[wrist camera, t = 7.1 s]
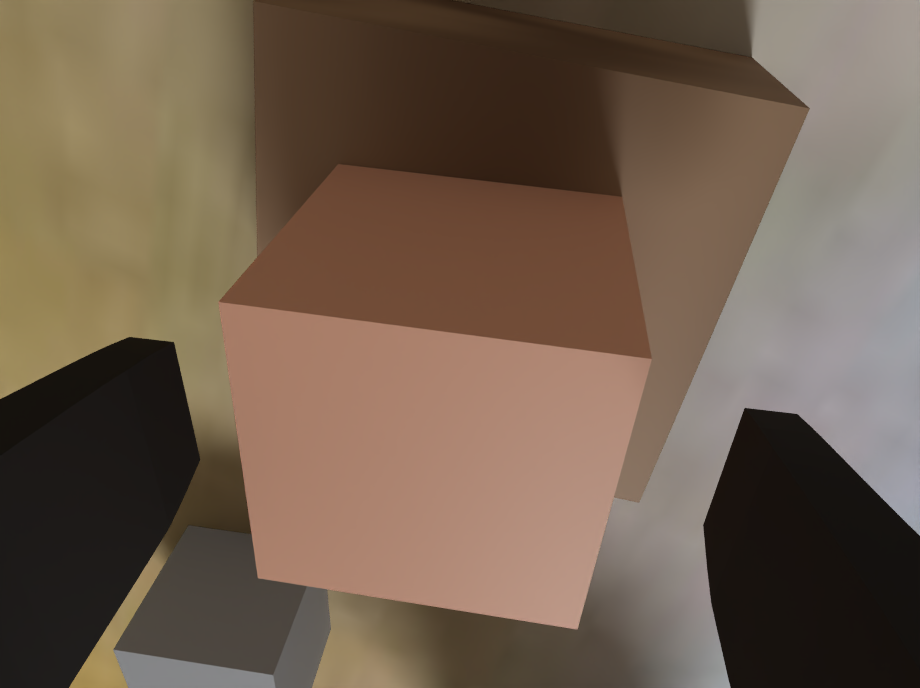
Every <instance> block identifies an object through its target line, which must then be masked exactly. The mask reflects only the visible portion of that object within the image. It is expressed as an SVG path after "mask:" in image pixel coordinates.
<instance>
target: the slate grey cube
mask: <svg viewBox="0 0 920 688" xmlns="http://www.w3.org/2000/svg"><path fill="white" fill-rule="evenodd" d="M330 630H331V625H330V615H329V604H328V594H327V589H322V588H316V587H309V586H303V585H297V584H291V583H285V582H278V581H272V580H266V579H260V578H258V575H257V568H256V561H255V554H254V547H253V540H252V534H246V533H239V532H232V531H225V530H218V529H211V528H204V527H197V526H190V525H188V527H187V528H186V530H185V532H184V533H183V535H182V537H181V538H180V540H179V542H178V543H177V545H176V547H175V548H174V550H173V552H172V553H171V555H170V556H169V558H168V560H167V561H166V563H165V565H164V566H163V568H162V570H161V571H160V573H159V575H158V576H157V578H156V580H155V581H154V583H153V585H152V586H151V588H150V590H149V591H148V593H147V595H146V596H145V598H144V600H143V601H142V603H141V605H140V606H139V608H138V610H137V611H136V613H135V615H134V616H133V618H132V619H131V621H130V623H129V624H128V626H127V628H126V629H125V631H124V633H123V634H122V636H121V638H120V639H119V641H118V643H117V644H116V646H115V648H114V649H113V650H114V653H115V655H116V658H117V660H118V663H119V665H120V668H121V670H122V673H123V675H124V678H125V680H126V683H127V685H128V688H312V685H313V682H314V679H315V676H316V673H317V670H318V667H319V664H320V661H321V657H322V654H323V651H324V648H325V645H326V642H327V639H328V636H329V633H330Z"/></svg>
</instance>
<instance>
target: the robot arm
mask: <svg viewBox="0 0 920 688" xmlns="http://www.w3.org/2000/svg"><path fill="white" fill-rule="evenodd" d="M199 461H200V456H199V452H198V447H197V443H196V438H195V434H194V429H193V425H192V421H191V416H190V412H189V407H188V403H187V398H186V394H185V389H184V385H183V380H182V376H181V372H180V367H179V363H178V358H177V354H176V349H175V345H174V342H168V341H159V340H151V339H142V338H133V337H128V338H126V339H124V340H121V341H119V342H116V343H114V344H111V345H109V346H107V347H105V348H102V349H100V350H98V351H96V352H94V353H92V354H90V355H88V356H86V357H83V358H81V359H79V360H77V361H75V362H73V363H71V364H69V365H67V366H65V367H63V368H61V369H59V370H57V371H55V372H53V373H51V374H49V375H47V376H45V377H43V378H41V379H39V380H37V381H36V382H34V383H32V384H30V385H28V386H26V387H24V388H22V389H20V390H18V391H16V392H14V393H12V394H10V395H8V396H6V397H4V398H2V399H0V688H69V686H70V685H71V683H72V682H73V680H74V678H75V677H76V675H77V674H78V672H79V671H80V669H81V667H82V666H83V664H84V663H85V661H86V659H87V658H88V656H89V655H90V653H91V652H92V650H93V648H94V647H95V645H96V644H97V642H98V641H99V639H100V637H101V636H102V634H103V633H104V631H105V630H106V628H107V626H108V625H109V623H110V622H111V620H112V618H113V617H114V615H115V614H116V612H117V611H118V609H119V607H120V606H121V604H122V603H123V601H124V600H125V598H126V596H127V595H128V593H129V592H130V590H131V589H132V587H133V585H134V584H135V582H136V581H137V579H138V577H139V576H140V574H141V573H142V571H143V569H144V568H145V566H146V565H147V563H148V561H149V560H150V558H151V557H152V555H153V553H154V552H155V550H156V548H157V547H158V545H159V544H160V542H161V540H162V539H163V537H164V535H165V534H166V532H167V530H168V529H169V527H170V525H171V523H172V521H173V519H174V517H175V515H176V512H177V510H178V508H179V506H180V504H181V502H182V500H183V498H184V496H185V493H186V491H187V489H188V486H189V484H190V482H191V480H192V477H193V475H194V473H195V470H196V468H197V466H198V463H199ZM703 526H704V537H705V548H706V559H707V570H708V578H709V587H710V596H711V603H712V608H713V612H714V617H715V622H716V626H717V630H718V635H719V639H720V643H721V648H722V652H723V657H724V661H725V665H726V670H727V674H728V678H729V682H730V686H731V688H920V536H919V535H918V534H917V533H916V532H915V531H914V530H913V529H912V528H911V527H910V526H909V525H908V524H907V523H906V522H905V521H904V520H903V519H902V518H901V517H900V516H899V515H898V514H897V513H896V512H895V511H894V510H893V509H892V508H891V507H890V506H889V505H888V504H887V503H886V502H885V501H884V500H883V499H882V498H881V497H880V496H879V495H878V494H877V493H876V492H875V491H874V490H873V489H872V488H871V487H870V486H869V485H868V484H867V483H866V482H865V481H864V480H863V479H862V478H861V477H860V476H859V475H858V474H857V473H856V472H855V471H854V470H853V469H852V468H851V467H850V466H849V465H848V463H847V462H846V461H845V460H844V459H843V458H842V457H841V456H840V455H839V454H838V453H837V452H836V451H835V450H834V449H833V448H832V447H831V446H830V445H829V444H828V443H827V442H826V441H825V440H824V439H823V438H822V437H821V436H820V435H819V434H818V433H817V432H816V431H815V430H814V429H813V428H812V427H811V426H810V425H808V424H807V423H806V422H805V421H804V420H803V419H802V418H801V417H800V416H799V415H798V414H792V413H783V412H775V411H766V410H757V409H749V408H745V409H744V412H743V414H742V417H741V420H740V423H739V426H738V429H737V431H736V434H735V437H734V440H733V443H732V445H731V448H730V451H729V454H728V457H727V460H726V462H725V465H724V468H723V471H722V474H721V477H720V479H719V482H718V485H717V488H716V491H715V494H714V496H713V499H712V502H711V505H710V508H709V511H708V513H707V516H706V519H705V522H704V525H703Z"/></svg>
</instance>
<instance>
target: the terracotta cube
mask: <svg viewBox="0 0 920 688" xmlns="http://www.w3.org/2000/svg"><path fill="white" fill-rule="evenodd" d="M219 309H220V316H221V323H222V330H223V337H224V344H225V351H226V358H227V365H228V372H229V379H230V386H231V393H232V400H233V407H234V414H235V421H236V428H237V435H238V442H239V449H240V456H241V463H242V470H243V477H244V484H245V491H246V498H247V505H248V512H249V519H250V526H251V533H252V540H253V547H254V554H255V561H256V568H257V575H258V578H260V579H266V580H272V581H278V582H285V583H291V584H297V585H303V586H309V587H316V588H322V589H328V590H334V591H341V592H347V593H353V594H359V595H365V596H372V597H378V598H384V599H390V600H397V601H403V602H409V603H415V604H421V605H428V606H434V607H440V608H446V609H453V610H459V611H465V612H471V613H477V614H484V615H490V616H496V617H502V618H509V619H515V620H521V621H527V622H534V623H540V624H546V625H552V626H558V627H565V628H571V629H578V626H579V622H580V618H581V615H582V611H583V608H584V604H585V600H586V597H587V593H588V589H589V586H590V582H591V578H592V575H593V571H594V568H595V564H596V560H597V557H598V553H599V549H600V546H601V542H602V539H603V535H604V531H605V528H606V524H607V520H608V517H609V513H610V510H611V506H612V502H613V499H614V495H615V491H616V488H617V484H618V481H619V477H620V473H621V470H622V466H623V462H624V459H625V455H626V451H627V448H628V444H629V441H630V437H631V433H632V430H633V426H634V422H635V419H636V415H637V412H638V408H639V404H640V401H641V397H642V393H643V390H644V386H645V383H646V379H647V375H648V372H649V368H650V364H651V361H652V357H651V351H650V346H649V340H648V335H647V329H646V324H645V318H644V313H643V307H642V302H641V297H640V291H639V286H638V280H637V275H636V269H635V264H634V258H633V253H632V247H631V242H630V237H629V231H628V226H627V220H626V215H625V209H624V204H623V198H622V197H620V196H611V195H602V194H594V193H585V192H576V191H568V190H559V189H550V188H542V187H533V186H524V185H516V184H507V183H498V182H490V181H481V180H472V179H464V178H455V177H446V176H438V175H429V174H420V173H412V172H403V171H395V170H386V169H377V168H369V167H360V166H351V165H343V164H338V165H337V166H336V167H335V168H334V170H333V171H332V172H331V173H330V174H329V175H328V177H327V178H326V179H325V180H324V181H323V182H322V183H321V185H320V186H319V187H318V188H317V189H316V190H315V191H314V193H313V194H312V195H311V196H310V197H309V198H308V200H307V201H306V202H305V203H304V204H303V205H302V206H301V208H300V209H299V210H298V211H297V212H296V213H295V214H294V216H293V217H292V218H291V219H290V220H289V221H288V223H287V224H286V225H285V226H284V227H283V228H282V229H281V231H280V232H279V233H278V234H277V235H276V236H275V238H274V239H273V240H272V241H271V242H270V243H269V244H268V246H267V247H266V248H265V249H264V250H263V251H262V252H261V254H260V255H259V256H258V257H257V258H256V259H255V261H254V262H253V263H252V264H251V265H250V266H249V267H248V269H247V270H246V271H245V272H244V273H243V274H242V275H241V277H240V278H239V279H238V280H237V281H236V282H235V284H234V285H233V286H232V287H231V288H230V289H229V290H228V292H227V293H226V294H225V295H224V296H223V297H222V298H221V300H220V301H219Z"/></svg>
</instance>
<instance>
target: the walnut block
mask: <svg viewBox="0 0 920 688" xmlns="http://www.w3.org/2000/svg"><path fill="white" fill-rule="evenodd" d="M253 16H254V81H255V146H256V211H257V257H258V256H259V255H260V254H261V252H262V251H263V250H264V249H265V248H266V247H267V246H268V244H269V243H270V242H271V241H272V240H273V239H274V238H275V236H276V235H277V234H278V233H279V232H280V231H281V229H282V228H283V227H284V226H285V225H286V224H287V223H288V221H289V220H290V219H291V218H292V217H293V216H294V214H295V213H296V212H297V211H298V210H299V209H300V208H301V206H302V205H303V204H304V203H305V202H306V201H307V200H308V198H309V197H310V196H311V195H312V194H313V193H314V191H315V190H316V189H317V188H318V187H319V186H320V185H321V183H322V182H323V181H324V180H325V179H326V178H327V177H328V175H329V174H330V173H331V172H332V171H333V170H334V168H335V167H336V166H337V165H338V164H343V165H351V166H360V167H369V168H377V169H386V170H395V171H403V172H412V173H420V174H429V175H438V176H446V177H455V178H464V179H472V180H481V181H490V182H498V183H507V184H516V185H524V186H533V187H542V188H550V189H559V190H568V191H576V192H585V193H594V194H602V195H611V196H620V197H622V198H623V204H624V209H625V215H626V220H627V226H628V231H629V237H630V242H631V247H632V253H633V258H634V264H635V269H636V275H637V280H638V286H639V291H640V297H641V302H642V307H643V313H644V318H645V324H646V329H647V335H648V340H649V346H650V351H651V357H652V361H651V364H650V368H649V372H648V375H647V379H646V383H645V386H644V390H643V393H642V397H641V401H640V404H639V408H638V412H637V415H636V419H635V422H634V426H633V430H632V433H631V437H630V441H629V444H628V448H627V451H626V455H625V459H624V462H623V466H622V470H621V473H620V477H619V481H618V484H617V488H616V491H615V495H614V497H615V498H620V499H624V500H629V501H634V502H640V499H641V497H642V495H643V492H644V490H645V488H646V486H647V483H648V481H649V479H650V476H651V474H652V472H653V469H654V467H655V465H656V462H657V460H658V458H659V455H660V453H661V451H662V449H663V446H664V444H665V442H666V439H667V437H668V435H669V432H670V430H671V428H672V425H673V423H674V421H675V418H676V416H677V414H678V412H679V409H680V407H681V405H682V402H683V400H684V398H685V395H686V393H687V391H688V388H689V386H690V384H691V382H692V379H693V377H694V375H695V372H696V370H697V368H698V365H699V363H700V361H701V358H702V356H703V354H704V351H705V349H706V347H707V345H708V342H709V340H710V338H711V335H712V333H713V331H714V328H715V326H716V324H717V321H718V319H719V317H720V314H721V312H722V310H723V308H724V305H725V303H726V301H727V298H728V296H729V294H730V291H731V289H732V287H733V284H734V282H735V280H736V277H737V275H738V273H739V271H740V268H741V266H742V264H743V261H744V259H745V257H746V254H747V252H748V250H749V247H750V245H751V243H752V241H753V238H754V236H755V234H756V231H757V229H758V227H759V224H760V222H761V220H762V217H763V215H764V213H765V210H766V208H767V206H768V204H769V201H770V199H771V197H772V194H773V192H774V190H775V187H776V185H777V183H778V180H779V178H780V176H781V173H782V171H783V169H784V167H785V164H786V162H787V160H788V157H789V155H790V153H791V150H792V148H793V146H794V143H795V141H796V139H797V137H798V134H799V132H800V130H801V127H802V125H803V123H804V120H805V118H806V116H807V113H808V111H809V109H810V108H809V107H807V106H806V105H805V104H804V103H803V102H802V101H801V100H800V99H798V98H797V97H796V96H795V95H794V94H793V93H792V92H790V91H789V90H788V89H787V88H786V87H785V86H784V85H783V84H781V83H780V82H779V81H778V80H777V79H776V78H775V77H773V76H772V75H771V74H770V73H769V72H768V71H767V70H766V69H764V68H763V67H762V66H761V65H760V64H759V63H758V62H757V61H755V60H754V59H753V58H752V57H747V56H742V55H737V54H731V53H726V52H721V51H716V50H710V49H705V48H700V47H695V46H689V45H684V44H679V43H674V42H668V41H663V40H658V39H653V38H647V37H642V36H637V35H632V34H626V33H621V32H616V31H611V30H605V29H600V28H595V27H590V26H584V25H579V24H574V23H569V22H563V21H558V20H553V19H548V18H542V17H537V16H532V15H527V14H521V13H516V12H511V11H506V10H500V9H495V8H490V7H485V6H479V5H474V4H469V3H464V2H458V1H453V0H256V1H253Z"/></svg>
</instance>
